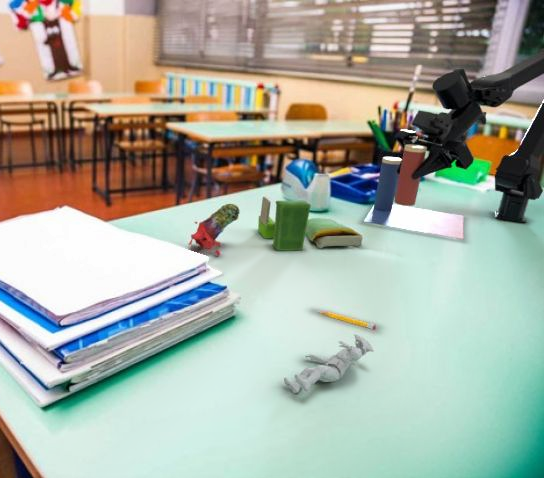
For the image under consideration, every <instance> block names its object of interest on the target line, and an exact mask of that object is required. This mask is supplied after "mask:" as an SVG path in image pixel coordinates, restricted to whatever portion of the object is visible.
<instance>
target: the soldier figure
mask: <svg viewBox="0 0 544 478" xmlns="http://www.w3.org/2000/svg"><path fill="white" fill-rule="evenodd" d="M353 336H354V341H355V342H354V344H355V346H353V345H350V344H347V342H345V341H342V340H341V341H337V343H338V344H339V346H338V347H340V348H343V349H341V350H340V351H338V352H337V353H336V354H332V355H331V356H330V357H329V358H325V357H322V356H318V355H315V354H307V355H305V358H310V359H309V360H308V361H309V362H313V361H317V363H319V364H318V365H316V367H305V368H303V370H302V371H301V372H300V374H294V379H295V382H293V381H291V380H290V379H289V378H288V377H284V378H283V381H284V384H285V385H286V386H287V388H289V389H290V390H291V392H293V394H296V395H297V394H298V393H299V392H300V390H301V389H302V390H303V391H305V392H308V391H309V390H310V389H311V386H313V385H314V384H315V383H317V381H320V382H323V383H329V382H331V383H332V382H337V381H339V380H340V379H341V378H342V377H343V376H344V374H345V373H346V371H347V369H349V368H351V367H353V366H355V363H357V362H358V361H359V360H360V359H361V358H362V357H363V356H365V355H366V354H367V353H369V352H374V349H373V347H372V344H371V343H370V342H369V341H368V340H366V339H365V338H364V337H363V336H361V335H358V334H353Z"/></svg>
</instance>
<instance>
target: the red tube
mask: <svg viewBox="0 0 544 478" xmlns="http://www.w3.org/2000/svg"><path fill="white" fill-rule="evenodd" d="M426 149H427V147H426V146H422V145H414V144H407V145H405V148H404V151H403V154H402V158H403V159H402V158H401V159H402V164H401V169H400V174H399V176H398V181H397V186H396V191H395V197H394V202H393V203H394V204H396V205H399V206H406V207H412V206H415V205H416V201H417V196H418V193H419V192H418V191H419V187H420V182H421V178H422V177H420V178H418V179H415V180H414V179H413V178H412V177H411V176H412V175H413V173H414V172H415V171H416V169H417V168H418V167H419V166H420V165H421V164H422V163H423V162H424V161H425V159H426V153H427V151H426Z"/></svg>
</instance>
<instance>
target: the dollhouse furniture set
mask: <svg viewBox="0 0 544 478" xmlns="http://www.w3.org/2000/svg"><path fill="white" fill-rule="evenodd" d="M275 204H276V205H275V217H274V219H275V220H274V219H272V218H271V217H270V212H271V200H270V199H269V198H267V197H266V196H262V199H261V209H260V215H258V222H257V223H258V226H257V227H258V229H257V230H258V232H259V233H260V235H261V236H262V237H263V239H265V240H267V239H268V240H269V239H273V244H272V246H273V248H274V249H275V250H276V251H277V252H279V251H280V252H281V251H282V252H283V251H285V252H286V251H302V250H303V248H304V243H305V237H308V239H309V240H310V241H311V242H314V243H315V244H316V247H317V248H318V249H323V248H324V247H341V246H342V247H343V246H344V247H346V246H348V247H349V246H355V247H361V246H362V244H363V243H362V242H363V236H362V234H360V233H359V232H357V231H356V230H354V229H353V228H351V227H349V226H346V225H344V224H340V223H338V222H336V221H335V220H333V219H331V218H325V217H324V218H323V217H314V218H309V216H310V211H311V204H310V203H309V202H308V201H306V200H305V199H304V200H303V199H302V200H299V199H298V200H276V201H275Z"/></svg>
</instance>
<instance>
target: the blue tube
mask: <svg viewBox="0 0 544 478" xmlns="http://www.w3.org/2000/svg"><path fill="white" fill-rule="evenodd" d="M401 160H402V158H400V157H395V156H394V157H393V156H383V157H382V160H381V166H380V171H379V176H378V182H377V186H376V187H377V188H376V191H375V192H376V193H375V197H374V204H373V206H374V209H376V210H380V211H391V210H392V207H393V205H394V203H395V202H394V200H395V195H396V189H397V184H398V179H399V174H398V173H397V169H398V167H399V164H400V162H401Z"/></svg>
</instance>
